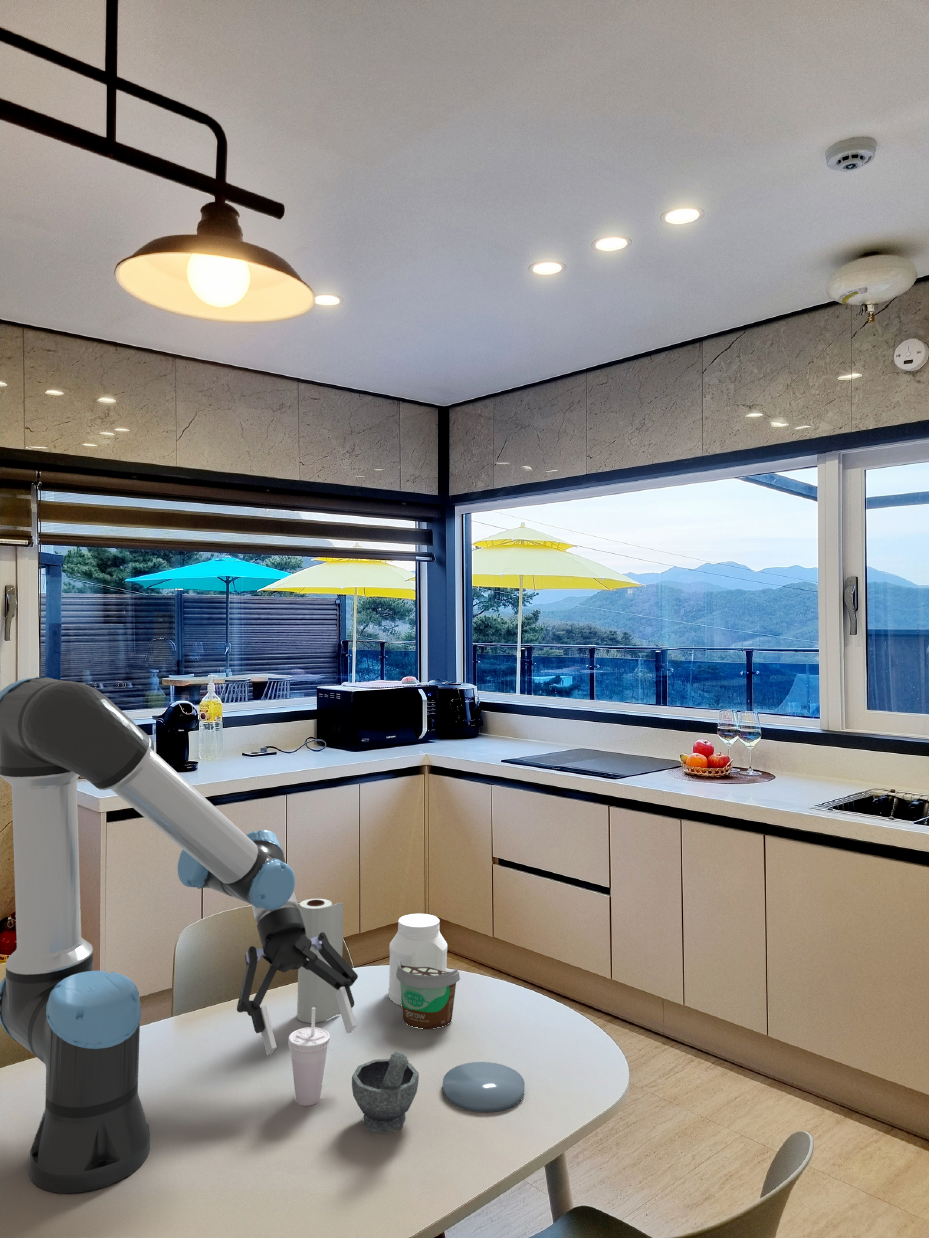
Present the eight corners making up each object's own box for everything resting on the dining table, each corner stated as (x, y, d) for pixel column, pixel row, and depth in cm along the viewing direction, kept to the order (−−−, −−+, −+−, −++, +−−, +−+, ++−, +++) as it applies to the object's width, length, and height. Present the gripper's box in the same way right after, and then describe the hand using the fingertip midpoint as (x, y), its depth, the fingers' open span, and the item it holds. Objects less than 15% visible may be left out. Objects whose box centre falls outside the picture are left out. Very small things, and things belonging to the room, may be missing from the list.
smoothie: (324, 1110, 132) (326, 1017, 132) (282, 1109, 132) (284, 1016, 132) (332, 1088, 138) (334, 999, 138) (291, 1087, 138) (293, 998, 138)
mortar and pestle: (343, 1111, 132) (345, 1031, 132) (401, 1097, 136) (403, 1020, 136) (368, 1152, 121) (371, 1065, 122) (430, 1136, 126) (432, 1052, 126)
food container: (385, 1026, 160) (386, 971, 160) (397, 1012, 166) (398, 959, 166) (448, 1036, 156) (450, 980, 157) (459, 1022, 162) (460, 968, 162)
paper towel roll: (290, 1019, 162) (292, 904, 162) (309, 1007, 167) (311, 895, 168) (322, 1027, 159) (325, 910, 159) (341, 1014, 164) (343, 901, 165)
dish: (518, 1117, 131) (518, 1108, 131) (434, 1106, 134) (434, 1098, 134) (529, 1074, 144) (529, 1066, 144) (452, 1064, 146) (452, 1057, 146)
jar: (435, 982, 180) (436, 909, 181) (453, 1000, 172) (455, 924, 172) (382, 990, 176) (383, 915, 176) (398, 1009, 167) (399, 931, 167)
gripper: (336, 914, 158) (374, 1030, 146) (200, 940, 144) (229, 1071, 132) (350, 893, 154) (391, 1010, 142) (211, 918, 140) (242, 1050, 128)
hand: (313, 1040), depth 137 cm, fingers open, 13 cm apart
